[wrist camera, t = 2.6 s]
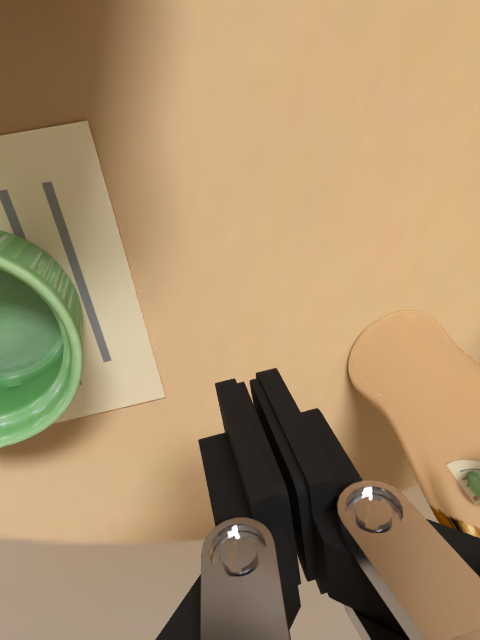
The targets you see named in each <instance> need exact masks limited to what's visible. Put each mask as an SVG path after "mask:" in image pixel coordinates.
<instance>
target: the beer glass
mask: <svg viewBox="0 0 480 640" xmlns="http://www.w3.org/2000/svg"><path fill="white" fill-rule="evenodd" d="M348 373H349V377H350V380H351V382H352V384H353V386H354V387H355V389H356V390H357V391H358V392H359V393H360V394H361V395H362V396H363V397H364V398H365V399H366V400H368V401H369V402H370V403H371V404H372V405H374V406H375V407H376V408H377V409H378V410H379V411H380V412H381V413H382V414H383V415H384V416H385V418H386V419H387V420H388V422H389V423H390V425H391V427H392V428H393V430H394V432H395V434H396V436H397V438H398V440H399V442H400V444H401V446H402V449H403V451H404V453H405V455H406V458H407V460H408V462H409V464H410V467H411V469H412V471H413V473H414V475H415V477H416V480H417V482H418V484H419V486H420V488H421V490H422V492H423V494H424V496H425V498H426V500H427V502H428V504H429V506H430V508H431V510H432V511H433V513H434V515H435V517H436V519H437V521H438V522H439V524H442V525H445V526H447V527H450V528H453V529H456V530H459V531H461V532H464V533H467V534H470V535H473V536H475V537H478V538H480V363H479V362H477V361H476V360H474V359H473V358H471V357H470V356H469V355H467V354H466V353H465V352H464V351H463V350H461V349H460V348H459V347H458V346H457V344H456V343H455V342H454V341H453V340H452V338H451V337H450V336H449V334H448V333H447V332H446V330H445V329H444V328H443V326H442V325H441V324H440V323H439V322H438V321H437V320H436V319H435V318H433V317H432V316H430V315H428V314H426V313H423V312H420V311H413V310H406V311H399V312H395V313H392V314H389V315H386V316H384V317H382V318H380V319H379V320H377V321H376V322H374V323H373V324H371V325H370V326H369V327H368V328H367V329H366V330H365V331H364V332H363V333H362V334H361V335H360V336H359V338H358V339H357V341H356V342H355V344H354V346H353V348H352V350H351V353H350V356H349V361H348Z"/></svg>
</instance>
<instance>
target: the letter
mask: <svg viewBox="0 0 480 640" xmlns="http://www.w3.org/2000/svg"><path fill="white" fill-rule="evenodd" d="M0 230H1V231H5V232H8V233H11V234H14V235H16V236H19V237H21V238H23V239H26V240H27V241H29V242H31V243H33V244H34V245H36V246H38V247H40V248H41V249H42V250H44V251H45V252H46V253H47V254H49V255H50V256H51V257H52V258H53V259H54V260H55V261H56V262H57V263H59V265H60V266H61V267H62V269H63V270H64V271H65V272H66V274H67V275H68V276H69V278H70V280H71V282H72V283H73V285H74V287H75V289H76V291H77V294H78V296H79V300H80V304H81V308H82V318H83V326H82V335H81V340H82V347H83V371H82V378H81V382H80V385H79V388H78V390H77V393H76V395H75V397H74V399H73V401H72V402H71V404H70V406H69V407H68V408H67V410H66V411H65V412H64V413H63V414H62V415H61V417H60V418H59V419H58V420H57V421H56V422H54V423H59V422H63V421H67V420H71V419H76V418H80V417H84V416H88V415H93V414H97V413H101V412H105V411H110V410H114V409H118V408H122V407H127V406H131V405H135V404H139V403H143V402H148V401H152V400H156V399H160V398H165V393H164V390H163V386H162V382H161V379H160V375H159V372H158V368H157V365H156V361H155V358H154V354H153V350H152V347H151V343H150V340H149V336H148V333H147V329H146V326H145V322H144V318H143V315H142V311H141V308H140V304H139V301H138V297H137V294H136V290H135V287H134V283H133V279H132V276H131V272H130V269H129V265H128V262H127V258H126V255H125V251H124V247H123V244H122V240H121V237H120V233H119V230H118V226H117V223H116V219H115V215H114V212H113V208H112V205H111V201H110V198H109V194H108V191H107V187H106V184H105V180H104V176H103V173H102V169H101V166H100V162H99V159H98V155H97V152H96V148H95V144H94V141H93V137H92V134H91V130H90V127H89V123H88V121H82V122H76V123H70V124H65V125H59V126H53V127H47V128H41V129H35V130H29V131H24V132H18V133H12V134H6V135H0ZM54 423H53V424H54Z"/></svg>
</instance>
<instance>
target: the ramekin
mask: <svg viewBox="0 0 480 640" xmlns="http://www.w3.org/2000/svg"><path fill="white" fill-rule="evenodd" d="M82 326H83V318H82V308H81V304H80V300H79V296H78V294H77V291H76V289H75V287H74V285H73V283H72V282H71V280H70V278H69V276H68V275H67V274H66V272H65V271H64V270H63V269H62V267H61V266H60V265H59V263H57V262H56V261H55V260H54V259H53V258H52V257H51V256H50V255H49V254H47V253H46V252H45V251H44V250H42V249H41V248H40V247H38V246H36V245H34V244H33V243H31V242H29V241H27V240H26V239H23V238H21V237H19V236H16V235H14V234H11V233H8V232H5V231H1V230H0V448H2V447H5V446H9V445H12V444H15V443H19V442H21V441H24V440H26V439H28V438H31V437H33V436H35V435H37V434H38V433H40V432H42V431H43V430H45V429H46V428H48V427H49V426H50V425H52V424H53V423H54V422H56V421H57V420H58V419H59V418H60V417H61V415H62V414H63V413H64V412H65V411H66V410H67V408H68V407H69V406H70V404H71V402H72V401H73V399H74V397H75V395H76V393H77V390H78V388H79V385H80V382H81V378H82V371H83V347H82V340H81V335H82Z"/></svg>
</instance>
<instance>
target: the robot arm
mask: <svg viewBox="0 0 480 640" xmlns="http://www.w3.org/2000/svg"><path fill="white" fill-rule="evenodd" d="M215 387H216V392H217V396H218V401H219V406H220V411H221V415H222V420H223V425H224V429H225V433H222V434H218V435H214V436H211V437H207V438H203V439H199V446H200V451H201V456H202V461H203V466H204V471H205V476H206V481H207V486H208V491H209V496H210V501H211V506H212V511H213V516H214V521H215V526H216V527H215V528H214V529H213V530H212V531H211V532H210V533H209V534H208V536H207V538H206V540H205V542H204V544H203V548H202V554H201V575H200V576H199V577H198V579H197V580H196V582H195V583H194V585H193V586H192V588H191V589H190V591H189V592H188V594H187V595H186V596H185V598H184V599H183V601H182V602H181V604H180V605H179V606H178V608H177V610H176V611H175V612H174V614H173V615H172V617H171V618H170V620H169V621H168V623H167V624H166V625H165V627H164V628H163V630H162V631H161V633H160V634H159V635H158V637H157V638H156V640H291V637H290V631H289V630H290V628H291V626H292V624H293V621H294V619H295V617H296V615H297V613H298V611H299V609H300V607H301V604H300V597H299V590H298V585H299V584H301V580H300V573H299V566H298V558H299V561H300V563H301V566H302V569H303V572H304V574H305V577H306V579H307V581H308V582H309V581H312V580H316V582H317V585H318V588H319V590H320V593H321V594H324V593H328V595H329V597H330V598H332V599H334V600H336V601H338V602H340V603H342V604H344V606H345V609H346V611H347V614H348V616H349V618H350V619H351V621H352V623H353V625H354V626H355V628H356V629H357V631H358V633H359V635H360V636H361V638H362V640H480V538H478V537H475V536H473V535H470V534H467V533H464V532H461V531H459V530H456V529H453V528H450V527H447V526H445V525H442V524H439V523H436V522H433V521H431V520H428V519H425V518H424V517H423V515H422V514H421V513H420V512H419V511H418V510H417V509H416V508H415V507H414V506H413V505H412V504H411V503H410V501H409V500H408V499H407V498H406V497H405V496H404V495H403V494H402V493H401V492H400V491H398V490H397V489H396V488H395V487H393V486H390V485H388V484H386V483H383V482H379V481H374V480H372V481H363V480H362V479H361V477H360V475H359V474H358V472H357V470H356V469H355V467H354V465H353V464H352V462H351V460H350V459H349V457H348V456H347V454H346V452H345V451H344V449H343V447H342V446H341V444H340V442H339V441H338V439H337V438H336V436H335V434H334V433H333V431H332V429H331V428H330V426H329V424H328V423H327V421H326V419H325V418H324V416H323V415H322V413H321V412H320V410H319V409H317V408H316V409H312V410H308V411H305V412H300V410H299V409H298V407H297V405H296V403H295V401H294V399H293V398H292V396H291V394H290V392H289V390H288V388H287V386H286V385H285V383H284V381H283V379H282V377H281V375H280V374H279V372H278V370H277V369H276V368H274V369H270V370H266V371H262V372H258V373H256V379H252V380H250V387H251V393H252V399H253V403H252V400H251V398H250V395H249V393H248V390H247V388H246V385H245V383H244V382H241V383H237V382H236V380H235V378H234V379H230V380H226V381H222V382H218V383H215ZM297 555H298V558H297Z"/></svg>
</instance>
